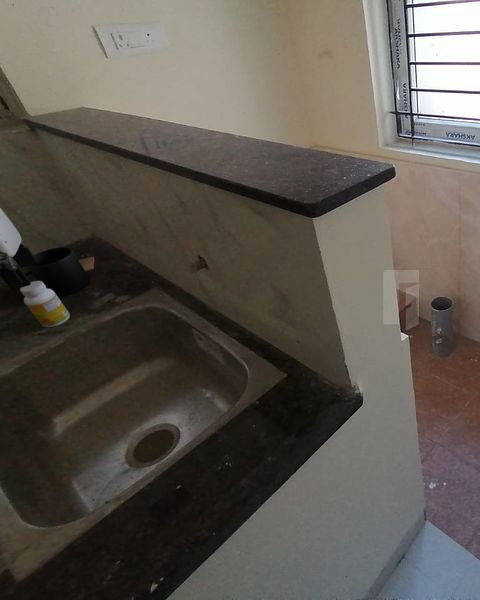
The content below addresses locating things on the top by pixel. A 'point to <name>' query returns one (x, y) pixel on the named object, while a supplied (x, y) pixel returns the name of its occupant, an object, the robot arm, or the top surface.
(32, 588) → the top surface
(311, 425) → the top surface
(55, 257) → the mug
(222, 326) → the top surface
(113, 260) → the top surface
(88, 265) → the cork trivet
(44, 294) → the supplement bottle
